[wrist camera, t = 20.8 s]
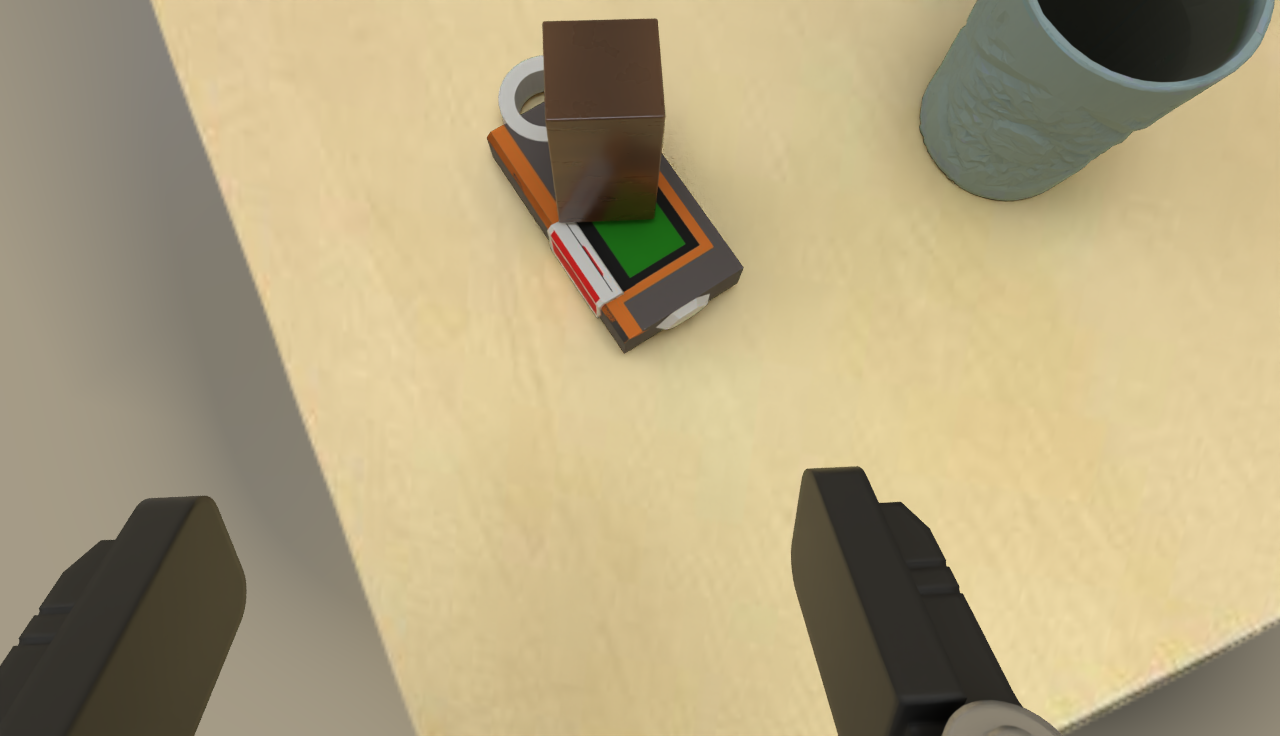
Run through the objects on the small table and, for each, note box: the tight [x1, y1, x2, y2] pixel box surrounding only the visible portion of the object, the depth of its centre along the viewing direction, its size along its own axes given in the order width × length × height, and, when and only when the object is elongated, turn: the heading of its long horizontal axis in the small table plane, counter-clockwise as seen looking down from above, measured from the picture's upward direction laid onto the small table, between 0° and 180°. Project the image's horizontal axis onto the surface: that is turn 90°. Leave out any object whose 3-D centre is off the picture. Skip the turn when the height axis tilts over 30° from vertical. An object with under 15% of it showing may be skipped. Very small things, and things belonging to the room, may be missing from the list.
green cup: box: [919, 0, 1274, 201], centre depth 36 cm, size 10×10×12 cm
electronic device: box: [487, 56, 744, 354], centre depth 39 cm, size 7×3×15 cm
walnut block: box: [542, 19, 665, 223], centre depth 34 cm, size 4×4×8 cm
